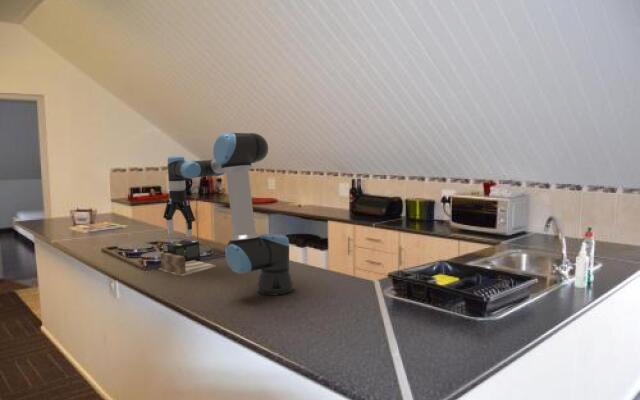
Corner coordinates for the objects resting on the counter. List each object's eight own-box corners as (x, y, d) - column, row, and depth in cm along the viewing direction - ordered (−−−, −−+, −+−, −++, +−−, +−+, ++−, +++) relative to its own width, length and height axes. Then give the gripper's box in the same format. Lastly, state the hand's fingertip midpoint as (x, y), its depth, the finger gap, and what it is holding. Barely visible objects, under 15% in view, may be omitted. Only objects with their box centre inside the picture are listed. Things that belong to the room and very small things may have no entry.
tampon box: (162, 244, 247) (187, 239, 257) (163, 262, 247) (188, 256, 258) (174, 245, 239) (199, 241, 250) (175, 264, 240) (200, 258, 251)
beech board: (216, 266, 238) (216, 250, 237) (183, 276, 223) (182, 258, 221) (192, 261, 249) (191, 245, 248) (158, 269, 233) (158, 253, 232)
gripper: (201, 190, 223) (203, 236, 225) (167, 187, 238) (169, 231, 240) (188, 191, 217) (190, 239, 220) (154, 189, 232) (156, 233, 234)
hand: (179, 234), depth 230 cm, fingers open, 13 cm apart
